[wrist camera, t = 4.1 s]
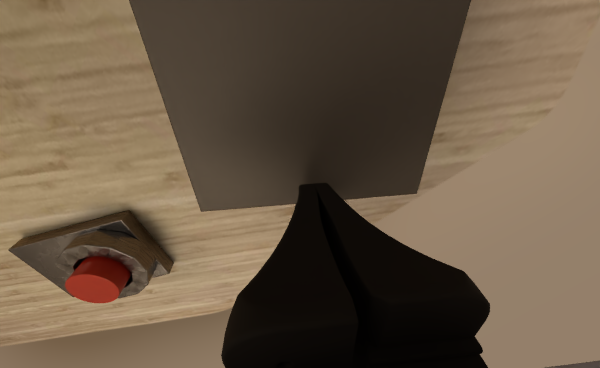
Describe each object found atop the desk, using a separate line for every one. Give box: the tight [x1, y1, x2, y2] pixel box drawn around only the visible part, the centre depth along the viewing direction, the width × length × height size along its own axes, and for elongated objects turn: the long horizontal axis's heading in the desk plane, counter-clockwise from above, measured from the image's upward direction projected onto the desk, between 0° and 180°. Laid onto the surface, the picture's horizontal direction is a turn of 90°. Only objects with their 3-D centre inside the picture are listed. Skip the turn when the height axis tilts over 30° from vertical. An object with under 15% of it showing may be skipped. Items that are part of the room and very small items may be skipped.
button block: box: [9, 210, 174, 298], centre depth 21 cm, size 10×7×3 cm
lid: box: [129, 0, 471, 212], centre depth 10 cm, size 11×12×1 cm
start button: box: [65, 256, 131, 303], centre depth 19 cm, size 4×4×2 cm
